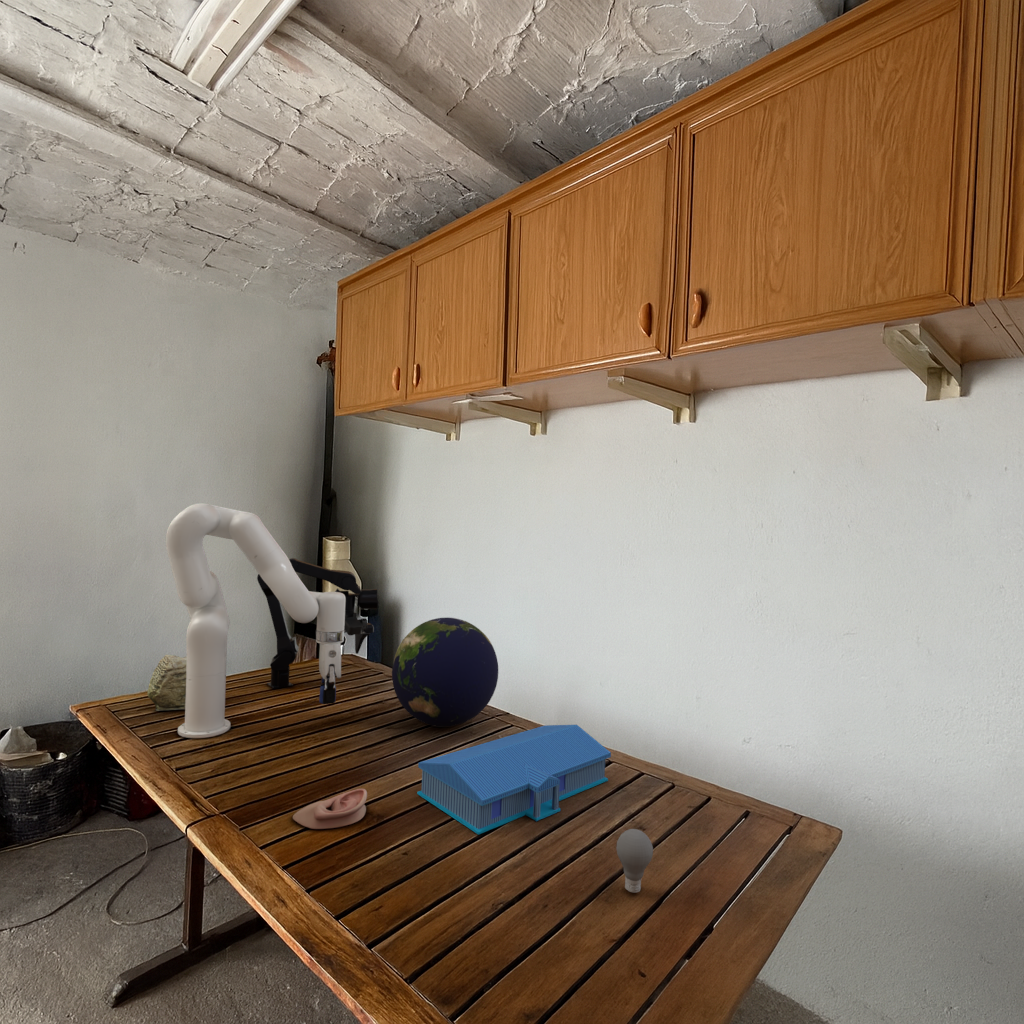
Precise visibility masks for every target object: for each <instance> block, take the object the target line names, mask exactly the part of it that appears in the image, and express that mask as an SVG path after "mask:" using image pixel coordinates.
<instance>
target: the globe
mask: <svg viewBox="0 0 1024 1024" xmlns="http://www.w3.org/2000/svg"><path fill="white" fill-rule="evenodd" d="M498 680H499V661H498V657H497V654H496V651H495V648H494V646H493V644H492V642H491V640H490V638H488V636H487V635H486V634H485V633H484V632H483V631H482V630H481V629H480V628H478V627H477V626H476V625H474V624H472V623H470V622H468V621H466V620H463V619H460V618H456V617H450V616H449V617H437V618H433V619H429V620H427V621H424V622H422V623H420V624H418V625H417V626H416V627H414V628H413V629H411V630H410V632H409V633H408V634H407V635H405V636H404V638H403V639H402V640H401V642H400V643H399V645H398V647H397V649H396V652H395V654H394V657H393V660H392V667H391V681H392V687H393V690H394V692H395V695H396V697H397V700H398V701H399V703H400V704H401V706H402V707H403V709H404V710H405V711H406V712H407V713H408V714H409V715H410V716H412V718H414V719H415V720H418V721H419V722H421V723H424V724H426V725H429V726H432V727H437V728H448V727H455V726H459V725H462V724H464V723H467V722H469V721H471V720H472V719H474V718H475V717H477V716H478V715H479V714H480V713H481V712H482V711H483V710H484V709H485V708H486V707H487V706H488V705H489V703H490V701H491V700H492V698H493V696H494V694H495V692H496V688H497V685H498V682H499V681H498Z"/></svg>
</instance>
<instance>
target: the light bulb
mask: <svg viewBox="0 0 1024 1024" xmlns="http://www.w3.org/2000/svg"><path fill="white" fill-rule="evenodd" d="M615 849H616V854H617V857H618V859H619V861H620V863H621V865H622V867H623V873H624V874H623V875H624V876H625V878H624V888H625V890H627V891H628V892H630V893H634V894H635V893H639V892H640V891H641V889H642V887H641V886H642V879H643V877H644V875H645V871H646V868H647V867H648V866H649V864H650V863H651V861H652V859H653V855H654V847H653V843H652V841H651V838H649V836H648V835H647V834H646V833H645V832H643V831H642V830H641V829H636V828H629V829H627V830H625V831H623V832H622V833H621V834H620V835H619V837H618V839H617V841H616V847H615Z"/></svg>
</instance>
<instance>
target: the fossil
mask: <svg viewBox="0 0 1024 1024" xmlns="http://www.w3.org/2000/svg"><path fill="white" fill-rule="evenodd" d="M186 665H187V656H183V657H182V656H178V655H175V654H174V655H173V654H165V655H164V656H163V657H162V658H161V659H160V660H159V662H158V663H157V666H156V667H155V669H154V670H153V672H152V675H151V677H150V680H149V684H148V688H147V697H148V699H149V700H150V701H152V703H153V704H154V706H155V711H158V712H159V711H162V712H163V711H177V710H185V701H186Z"/></svg>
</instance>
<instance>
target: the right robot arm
mask: <svg viewBox="0 0 1024 1024" xmlns="http://www.w3.org/2000/svg"><path fill="white" fill-rule="evenodd" d="M288 559H289V561H290V563H291V565H292V567H293V569H294V571H295V572H296V573H299V574H301V575H305V576H308V577H311V578H312V577H313V578H315V579H318V580H319V579H320V580H322V581H326V582H328V583H330V584H332V585H333V586H335V587H337V588H336V589H335V590H334V592H340V593H343V594H344V595H345V598H346V602H345V625H344V634H345V633H346V634H347V635H348V636H354V650H355V654H359V652H360V650H361V647H362V645H363V643H364V641H365V639H366V638H367V637H369V636H371V634H372V633H374V632H375V627H374V625H373V624H372V623H369V622H368V620H367V618H360V619H358V614H357V612H356V607H359V609H360V610H378V606H379V600H378V589H377V588H372V589H370V588H369V589H361V586H360V585H359V584H358V583H357V577H356V575H355V574H354V573H353V572H352V571H349V570H341V569H330V568H327V567H323V566H320V565H317V564H313V563H309V562H306V561H304V560H299V559H297V558H295V557H290V558H288ZM256 579H257V582H258V584H259V587H260V589H261V591H262V593H263V594H264V596H265V598H266V601H267V605H268V610H269V613H270V617H271V621H272V625H273V628H274V632H275V636H276V654H275V655H274V656H273V657H272V659H271V662H270V664H269V666H270V668H271V669H270V682H266V685H267V687H270V688H271V689H273V690H277V689H283V688H284V689H285V688H288V687H289V688H290V687H294V684H293V683H291V682H290V670H291V668H290V667H291V666H290V665H291V664H293V663H294V662H295V660H296V659H297V654H298V652H299V648H300V646H298V644H297V636H292V635H291V634H290V632H289V629H288V624H287V621H286V617H285V613H284V609H283V605H282V604H281V603H280V601H279V600H278V599H277V597H276V596H275V594H274V593H273V592H272V590H271V589H270V588H269V586H268V585H267V584H266V583H265V582H264V580H263V579H262V578H261V576H260V575H259V573H257V577H256ZM340 589H341V590H340ZM350 592H351V593H350ZM316 633H317V628H316V629H315V634H316Z"/></svg>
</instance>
